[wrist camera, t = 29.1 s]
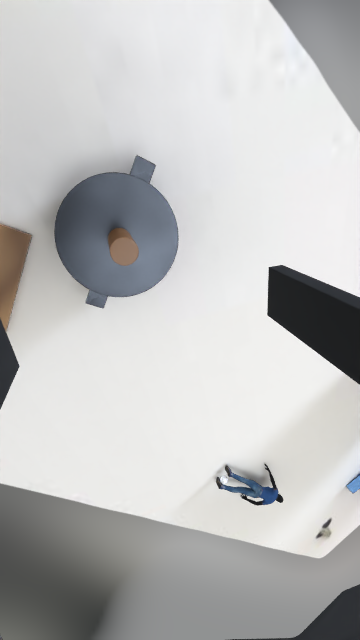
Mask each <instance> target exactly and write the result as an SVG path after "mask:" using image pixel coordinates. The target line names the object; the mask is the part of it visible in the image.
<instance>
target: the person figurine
mask: <svg viewBox="0 0 360 640" xmlns="http://www.w3.org/2000/svg"><path fill="white" fill-rule="evenodd" d="M265 466H266V467H267V468H265V469H266V470H268V471H269V475H270V479H271V482H272V485H273V488H270V487H262V486H261V485H259V484H258V483H256V482H255V481H253V480H249V479H246V478H243V477H241V476H238V475H236V474H234V473H232V472H231V470H230V468H229V467H228V466H226V467H225V470H226V472H227V474H228V476H229V477H233V478H235V479H237V480H238V481H240V482H243V483H245V484H246V485H248V486H249V487H250V488H247V487H231V486H226V485H223V484H226V483H227V480H228V479H227V477H226V476H222V477H221V478H220V479H219V477H217V479H216V483H217V485H218V487H219V489H225V490H228V491H230V492H234V493H238V492H239V493H242V495H243V494H245V496H244V495H243V496H242V495H241V496H242V499H245V500H247V501H249V502H250V503H252V504H254V505H267V504H271V503H273V502H274V501H275V500H276V501H278V502H280V503H282V502H283V497H282V496H281V495H280V494H278V489H277V487H276V484H275V481H274V478H273V476H272V474H271V472H270V470H269V468H268V466H267V465H266V464H265ZM246 495H247V496H251V497H253V498H259V497H260V498H262V499H264V500H263V501H259V502H256V501H253V500H250V499H247V496H246ZM241 496H240V497H241Z"/></svg>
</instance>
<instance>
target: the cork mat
mask: <svg viewBox="0 0 360 640" xmlns="http://www.w3.org/2000/svg"><path fill="white" fill-rule="evenodd" d="M31 238H32V235H30V234H28V233H25V232H22V231H19V230H17V229H14V228H11V227H8V226H6V225H3V224H0V318H1V321H2V323H3V326H4V328H5V331H7V327H8V323H9V319H10V316H11V312H12V308H13V305H14V301H15V297H16V294H17V290H18V286H19V282H20V279H21V275H22V271H23V268H24V264H25V260H26V257H27V253H28V249H29V245H30V242H31Z"/></svg>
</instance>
